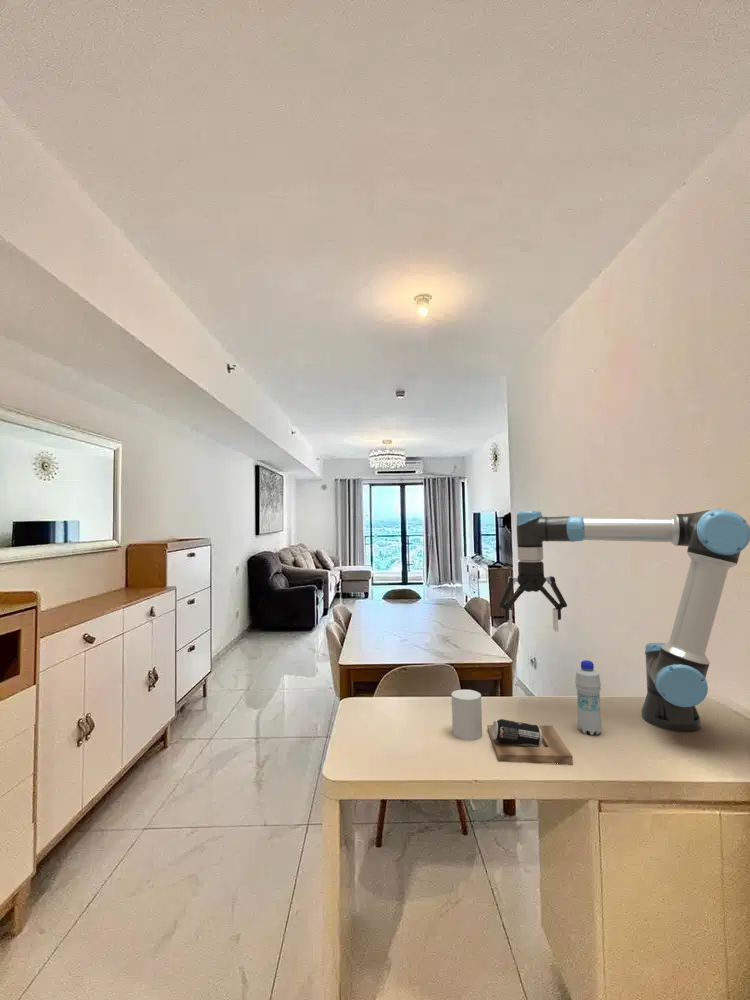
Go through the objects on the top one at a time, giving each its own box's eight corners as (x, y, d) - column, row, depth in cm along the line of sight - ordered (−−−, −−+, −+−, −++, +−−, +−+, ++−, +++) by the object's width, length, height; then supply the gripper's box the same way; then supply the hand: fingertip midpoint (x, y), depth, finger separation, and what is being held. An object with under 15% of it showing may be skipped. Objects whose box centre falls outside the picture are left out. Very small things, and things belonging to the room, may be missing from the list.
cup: (485, 734, 139) (483, 691, 140) (478, 746, 132) (477, 701, 133) (457, 729, 143) (456, 688, 143) (449, 741, 136) (448, 697, 136)
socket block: (552, 734, 139) (551, 725, 139) (572, 765, 121) (572, 755, 121) (487, 733, 140) (487, 724, 140) (498, 764, 122) (498, 754, 122)
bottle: (605, 737, 136) (602, 664, 137) (579, 736, 137) (576, 663, 138) (599, 727, 142) (596, 657, 143) (575, 726, 144) (572, 656, 145)
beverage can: (534, 736, 133) (490, 728, 133) (540, 720, 130) (495, 713, 131) (539, 754, 128) (493, 746, 128) (545, 739, 125) (498, 730, 126)
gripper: (568, 559, 154) (571, 627, 153) (487, 560, 156) (489, 628, 155) (576, 561, 146) (579, 633, 145) (491, 562, 148) (493, 633, 147)
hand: (533, 630), depth 150 cm, fingers open, 13 cm apart
